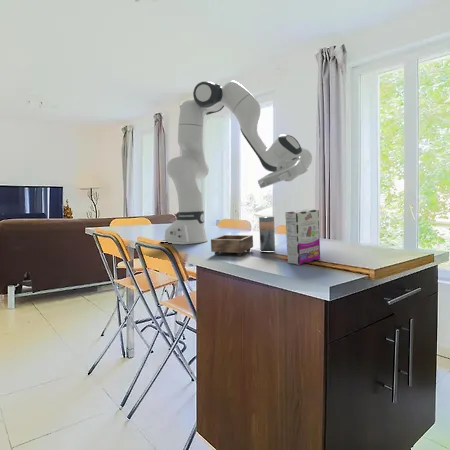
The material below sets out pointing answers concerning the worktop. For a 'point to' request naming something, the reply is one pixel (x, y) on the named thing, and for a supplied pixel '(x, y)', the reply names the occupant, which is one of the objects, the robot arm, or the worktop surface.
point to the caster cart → (232, 244)
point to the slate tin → (267, 233)
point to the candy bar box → (302, 236)
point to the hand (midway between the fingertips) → (270, 182)
